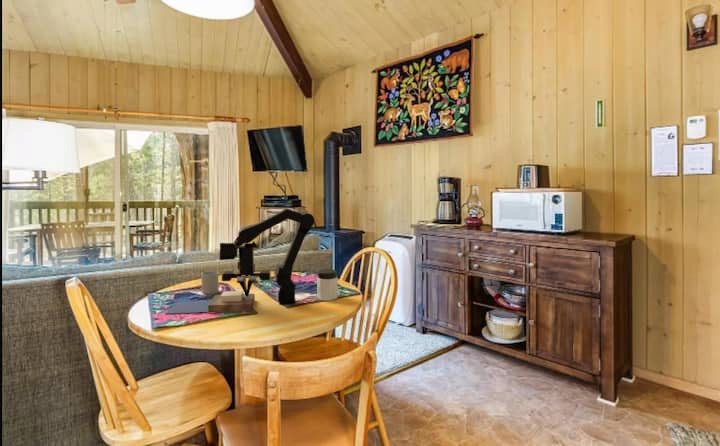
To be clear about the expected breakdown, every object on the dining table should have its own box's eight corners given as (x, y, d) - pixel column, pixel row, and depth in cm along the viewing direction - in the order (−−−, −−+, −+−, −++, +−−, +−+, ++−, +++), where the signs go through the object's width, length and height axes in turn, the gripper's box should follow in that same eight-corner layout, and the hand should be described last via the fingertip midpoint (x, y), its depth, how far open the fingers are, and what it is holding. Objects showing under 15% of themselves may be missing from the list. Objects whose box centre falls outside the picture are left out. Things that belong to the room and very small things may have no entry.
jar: (315, 296, 188) (315, 269, 186) (332, 294, 191) (332, 268, 189) (321, 302, 179) (321, 274, 178) (339, 299, 183) (339, 272, 181)
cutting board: (254, 300, 181) (254, 293, 181) (250, 311, 167) (250, 303, 167) (215, 301, 179) (215, 294, 179) (208, 312, 165) (208, 305, 165)
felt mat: (215, 301, 179) (215, 300, 179) (208, 312, 165) (208, 311, 165) (176, 303, 177) (176, 302, 177) (165, 314, 163) (165, 313, 163)
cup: (205, 295, 188) (204, 275, 187) (197, 290, 195) (196, 271, 194) (221, 292, 193) (220, 273, 191) (212, 287, 200) (212, 269, 199)
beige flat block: (243, 296, 176) (243, 291, 176) (241, 301, 170) (241, 295, 170) (223, 297, 175) (223, 291, 175) (220, 301, 169) (220, 296, 169)
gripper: (271, 254, 181) (271, 290, 183) (226, 255, 178) (227, 291, 180) (269, 259, 170) (269, 297, 172) (220, 260, 167) (222, 299, 169)
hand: (247, 296), depth 173 cm, fingers closed
